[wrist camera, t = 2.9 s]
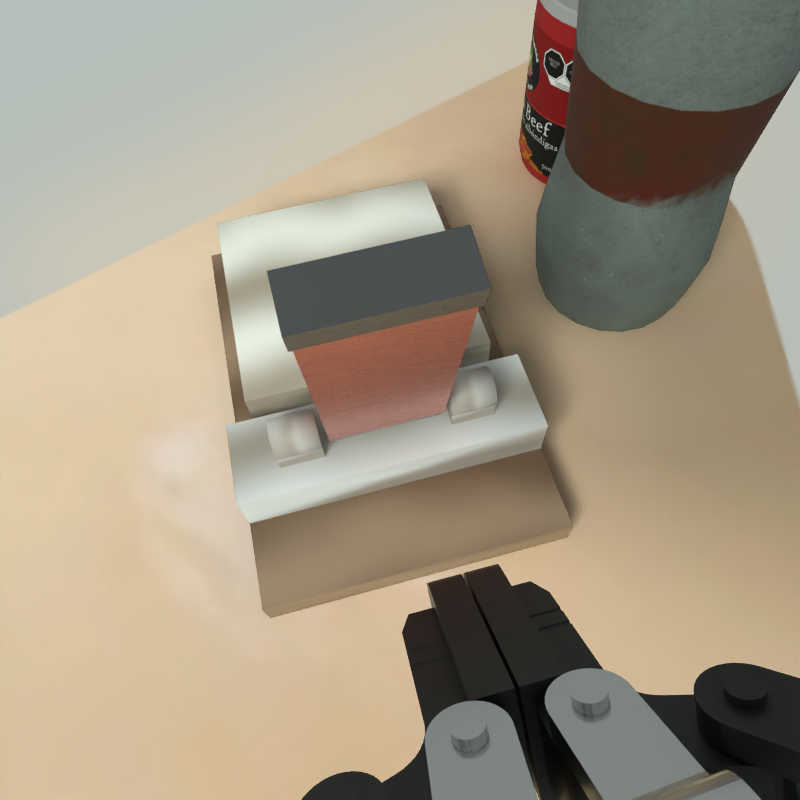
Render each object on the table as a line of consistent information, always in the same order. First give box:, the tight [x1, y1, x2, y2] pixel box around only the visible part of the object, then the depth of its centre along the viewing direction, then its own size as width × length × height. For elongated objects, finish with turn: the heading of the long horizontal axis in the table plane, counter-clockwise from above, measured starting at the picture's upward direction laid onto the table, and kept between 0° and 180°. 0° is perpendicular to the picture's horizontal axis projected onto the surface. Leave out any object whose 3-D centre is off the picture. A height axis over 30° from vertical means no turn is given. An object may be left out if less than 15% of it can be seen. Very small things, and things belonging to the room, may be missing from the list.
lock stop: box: [267, 225, 491, 441], centre depth 22 cm, size 2×5×14 cm, turn 104°
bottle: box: [536, 0, 800, 332], centre depth 25 cm, size 9×9×30 cm
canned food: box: [519, 0, 579, 184], centre depth 38 cm, size 8×8×11 cm
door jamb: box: [212, 178, 573, 618], centre depth 32 cm, size 21×14×6 cm, turn 14°
